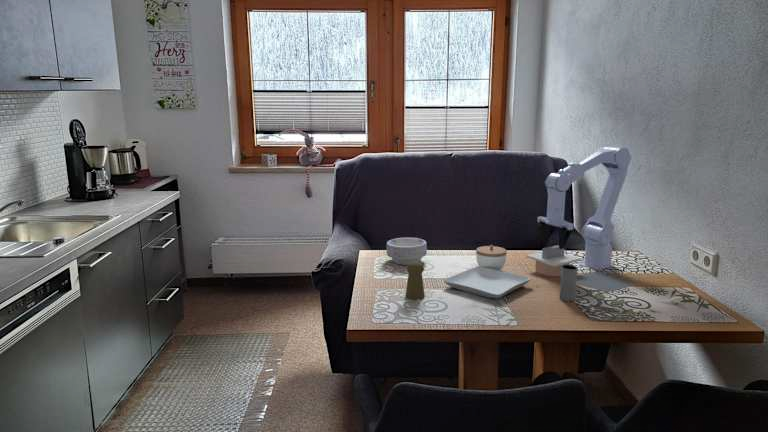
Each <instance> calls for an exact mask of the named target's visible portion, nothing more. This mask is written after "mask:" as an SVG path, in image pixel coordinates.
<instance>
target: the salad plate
mask: <svg viewBox="0 0 768 432" xmlns="http://www.w3.org/2000/svg"><path fill="white" fill-rule="evenodd" d="M531 280H532V278H531V277H529V276H524V275H520V274H516V273H512V272H507V271H503V270H494V269H489V268H484V267H479V265H478V266H475V267H471V268H469V269H467V270H464V271H462V272H459V273H456V274H454V275H451V276H449V277H447V278H445V279H443V282H444V283H445V284H446V285H447V286H449V287H452V288H454V289H457V290H460V291H463V292H467V293H471V294H475V295H478V296H482V297H486V298H489V299H499V298H502V297H503V296H505V295H507V294H509V293H511V292H513V291H514V290H517V289H519V288H521V287H523V286H525V285H527V284H528V283H530V281H531Z"/></svg>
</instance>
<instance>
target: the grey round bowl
mask: <svg viewBox="0 0 768 432" xmlns="http://www.w3.org/2000/svg"><path fill="white" fill-rule="evenodd" d="M427 245H428V244H427V241H426V240H424V239H422V238H418V237H397V238H396V237H395V238H392V239H390V240H388V241H387V242H386V256H388V258H389V257H390V258H391V260H392V261H393V262H394V264H397V265H403V266H407V265H408V264H409V263H410V262H420V263H421V260H422V258H423V257H425V256H426V255H427V252H428V249H427V248H428V247H427Z"/></svg>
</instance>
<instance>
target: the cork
mask: <svg viewBox="0 0 768 432" xmlns="http://www.w3.org/2000/svg"><path fill="white" fill-rule="evenodd" d="M424 267H425V266H424V264H423V263H422V262H421V261H420V262H410V263H409V264H408V265H406V271H407V273H408V274H407V275H408V277H407V284H406V288H405V289H406V291H405V295H404V296H405V298H406V299H408V300H412V301H418V300H423V299H424V298H425V289H424V288H425V287H424V279H423V272H424Z"/></svg>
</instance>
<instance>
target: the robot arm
mask: <svg viewBox="0 0 768 432" xmlns="http://www.w3.org/2000/svg"><path fill="white" fill-rule="evenodd" d="M632 157H633V156H632V154H631V153H630V151H629V149H628V148H626V147H619V146H618V147H617V146H610V145H603V146H601V147H599V148H597V149H596V151H595V152H594V153H592V154H591V155H590V156H588V157H586V158H585V159H584V160H582V161H581V162H570V163H569V164H568V165H567V166H566V167H564V168H563V169H562V168H561V169H559V170H558V172H552V173H550V174H549V175H548V176H547V177H546V180H545V181H544V184H545V188H546V189H547V191H546V192H547V208H546V216H542V215H541V216H537V220H536V221H537V223H538V224H536V227H537V229H538V231H539V233H540V237H541V238H540V239H541V242H542V244H543V245H546V244H549V240H550V234H551V233H550V232H551V229H552V226H553V227H559V228H557V235H558V245H559V249H563V248H566V246H567V242H568V240H569V238H570V236H571V234H572V233H573V232H574V223H571V222H569V221H568V220H567V221H566V220H565V205H566V204H565V203H566V193H567V192H566V191H568V190H569V188H570V187H571V184H573V183H575V182H577V181H578V180H580V179H581V178H583V177H584V176H585V172H587V171H589V170H591V169H593V168H595V167H597V166H598V165H600V164H601V165H602V166H603V167H604V168H605V169H606V170H607V173H608V174H609V175H608V178H607V181H606V182H605V186H604V189H603V191H602V194H601V196H600V200H599V202H598V204H597V205H598V206H597V208H596V211H595V213H594V215H593V216H590V217H589V218H588V219H587V222H586V223H585V225H583V226H582V229H581V235H582V237H583V238H584V241H585V250H584V261H583V262H581V263H578V265H579V266H582V267H586V268H587V269H588V268H589V269H592V270H595V271H599V270H602V269H606V268H611V267H614V265H613V264H612V262H613V261H612V259H613V258H612V257H613V246H612V244H611V243H610V242H612V239H613V238H614V237H613V236H614V229H615V226H614V224H613V222H612V220H611V219H612V216H613V213H614V210H615V209H616V208H615V207H616V204H617V202H618V199H619V197H620V194H621V192H622V188H623V185H624V183H625V181H626V177H627V175H628V171H629V170H628V169H629V166H630V162H631V161H632Z"/></svg>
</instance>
